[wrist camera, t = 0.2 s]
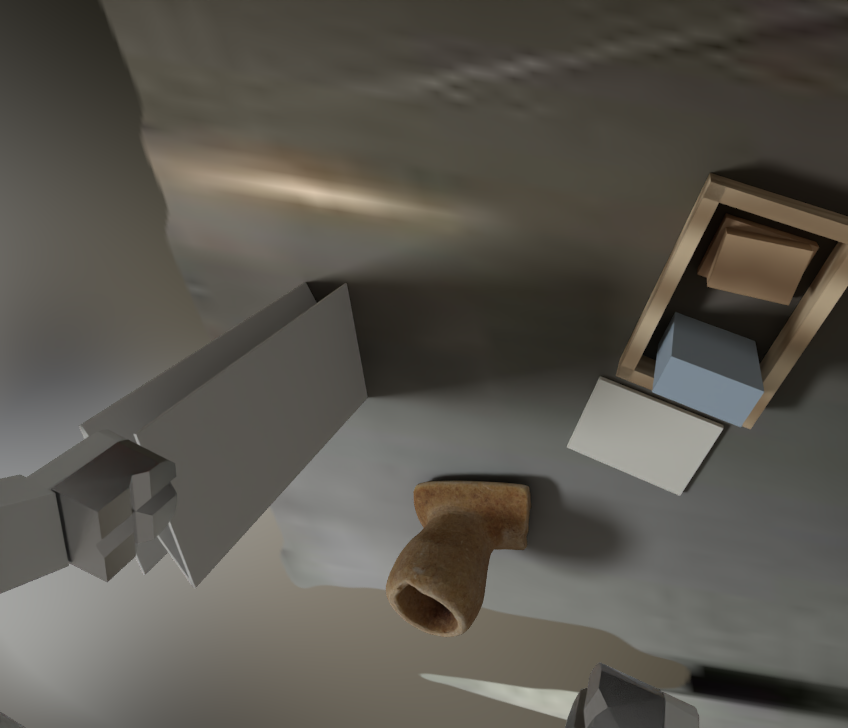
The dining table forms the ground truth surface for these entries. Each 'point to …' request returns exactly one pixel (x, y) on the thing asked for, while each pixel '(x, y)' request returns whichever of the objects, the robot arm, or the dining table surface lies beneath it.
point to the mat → (643, 435)
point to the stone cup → (455, 551)
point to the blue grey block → (708, 369)
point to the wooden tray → (806, 319)
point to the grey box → (242, 420)
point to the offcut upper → (759, 265)
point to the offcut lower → (744, 225)
